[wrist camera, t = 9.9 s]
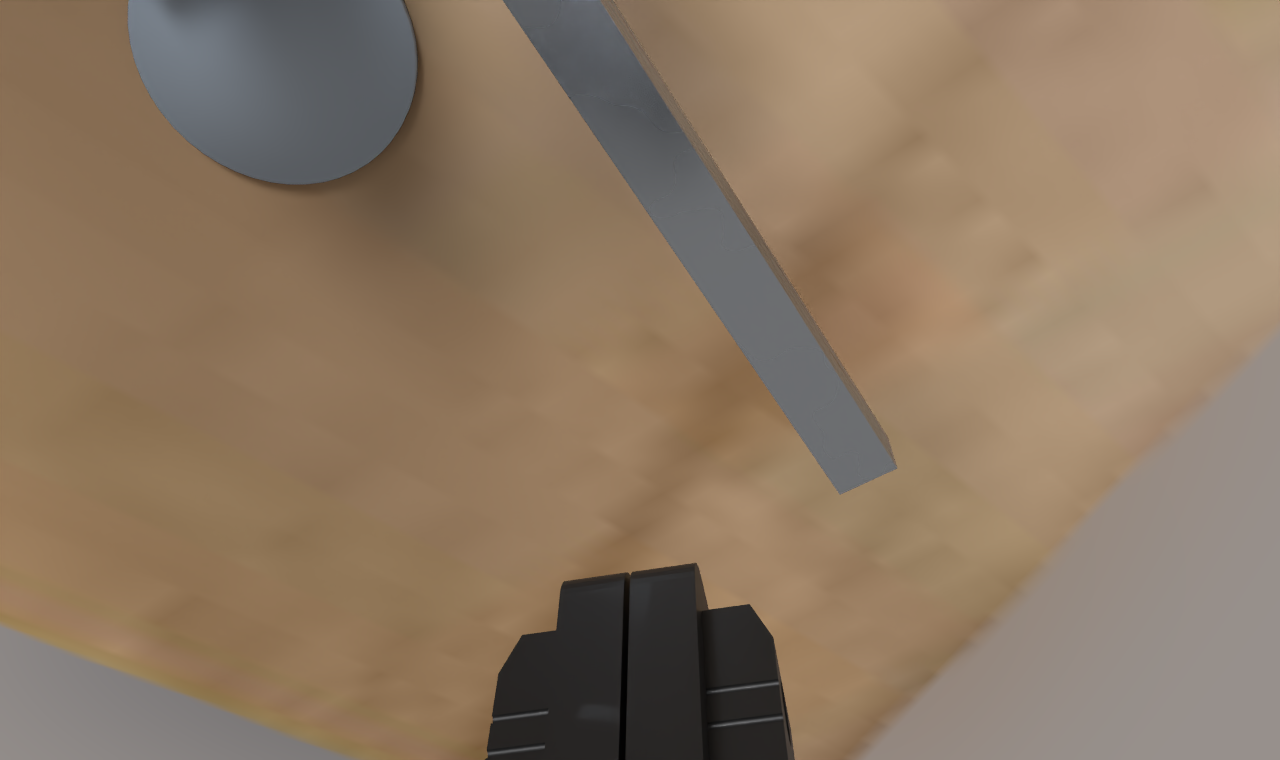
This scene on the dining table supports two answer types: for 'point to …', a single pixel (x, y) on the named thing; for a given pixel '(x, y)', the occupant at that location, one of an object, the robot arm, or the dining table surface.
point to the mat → (279, 80)
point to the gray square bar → (707, 229)
